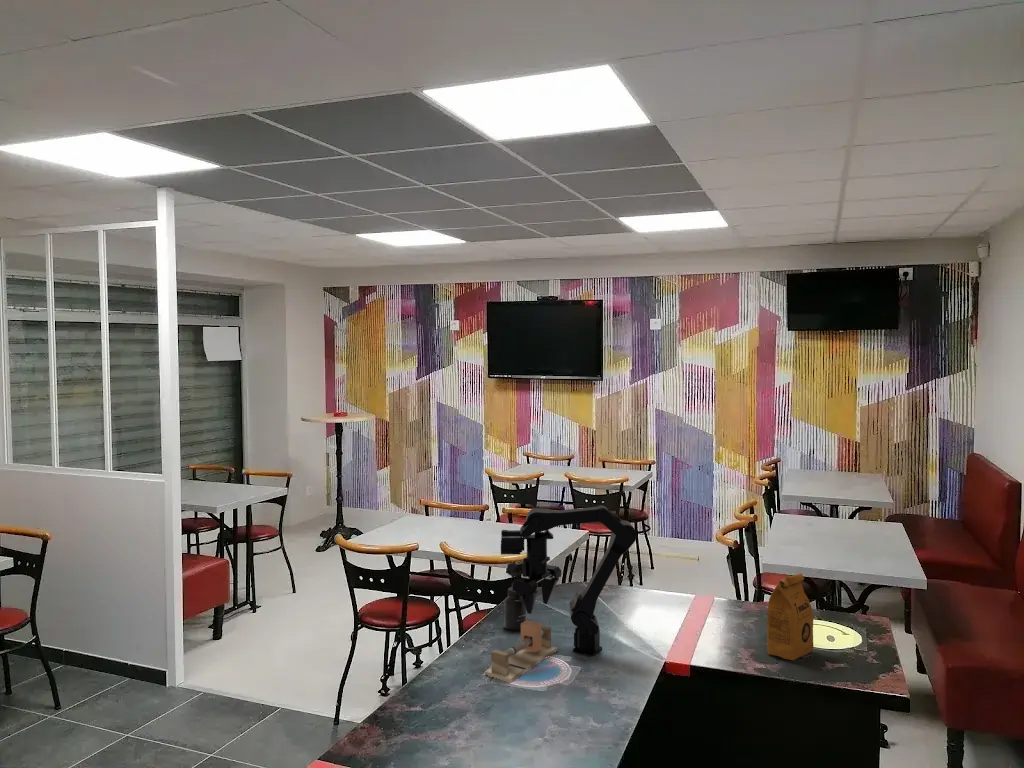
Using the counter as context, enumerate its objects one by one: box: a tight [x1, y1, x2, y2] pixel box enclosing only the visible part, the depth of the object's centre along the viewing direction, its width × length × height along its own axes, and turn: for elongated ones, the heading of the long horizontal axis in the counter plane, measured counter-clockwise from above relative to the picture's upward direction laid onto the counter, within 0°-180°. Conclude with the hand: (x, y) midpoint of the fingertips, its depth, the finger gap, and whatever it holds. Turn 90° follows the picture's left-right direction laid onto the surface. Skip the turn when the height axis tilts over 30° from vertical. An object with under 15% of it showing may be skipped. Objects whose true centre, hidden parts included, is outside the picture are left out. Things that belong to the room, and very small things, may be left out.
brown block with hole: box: [520, 619, 542, 652], centre depth 204 cm, size 3×5×7 cm, turn 57°
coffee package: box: [766, 573, 815, 661], centre depth 204 cm, size 10×12×22 cm
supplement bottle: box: [504, 586, 528, 632], centre depth 226 cm, size 7×7×12 cm
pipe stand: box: [484, 624, 558, 683], centre depth 200 cm, size 24×8×6 cm, turn 146°
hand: (537, 608), depth 208 cm, fingers open, 9 cm apart
